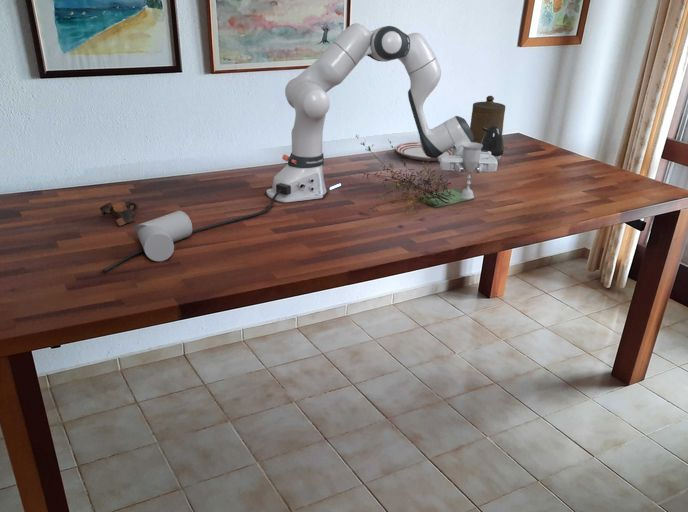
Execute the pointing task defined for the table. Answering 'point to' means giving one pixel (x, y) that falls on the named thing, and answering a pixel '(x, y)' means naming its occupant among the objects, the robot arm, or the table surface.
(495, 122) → the wooden container
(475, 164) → the chalice
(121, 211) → the brown irregular block
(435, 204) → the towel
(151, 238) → the bent grey cylinder
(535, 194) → the table surface
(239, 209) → the table surface
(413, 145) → the dinner plate
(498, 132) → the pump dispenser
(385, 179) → the dried plant
